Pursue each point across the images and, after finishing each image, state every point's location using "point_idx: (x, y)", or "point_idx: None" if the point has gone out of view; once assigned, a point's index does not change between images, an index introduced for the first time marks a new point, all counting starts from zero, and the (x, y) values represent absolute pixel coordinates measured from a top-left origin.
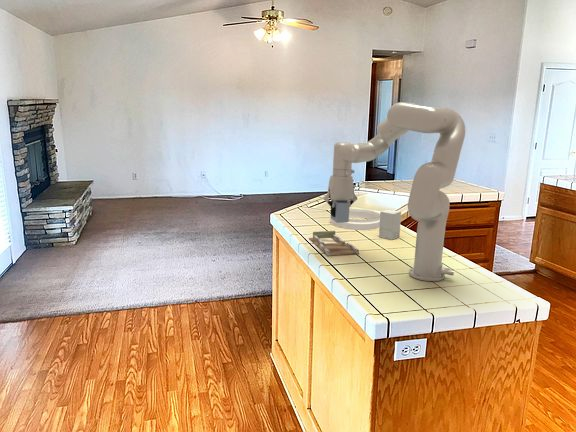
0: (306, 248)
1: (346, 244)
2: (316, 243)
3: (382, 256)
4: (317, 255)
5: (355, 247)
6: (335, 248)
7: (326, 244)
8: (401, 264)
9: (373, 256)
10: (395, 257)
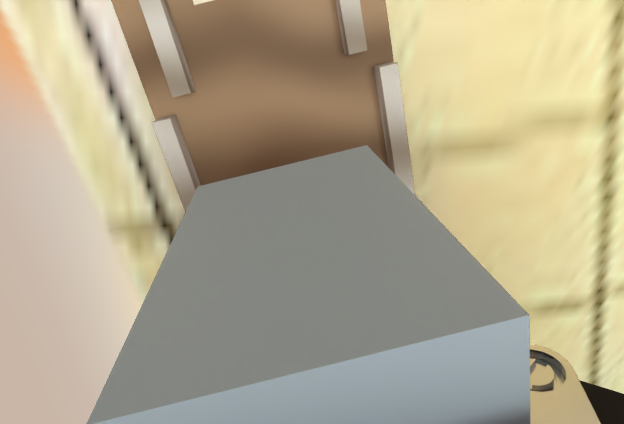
0: (59, 122)
1: (378, 26)
2: (126, 2)
3: (534, 253)
4: (153, 264)
5: (412, 190)
6: (278, 137)
7: (214, 32)
8: (570, 354)
9: (484, 257)
10: (596, 264)
